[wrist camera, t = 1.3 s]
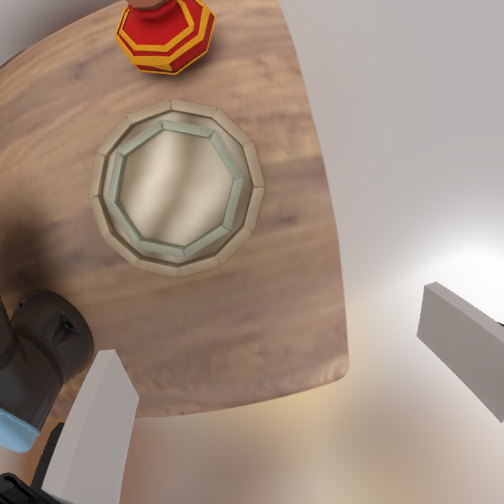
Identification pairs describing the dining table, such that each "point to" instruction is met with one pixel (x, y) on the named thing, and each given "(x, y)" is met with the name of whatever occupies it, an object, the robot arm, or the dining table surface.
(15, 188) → the dining table surface
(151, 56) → the potion bottle
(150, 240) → the tray
